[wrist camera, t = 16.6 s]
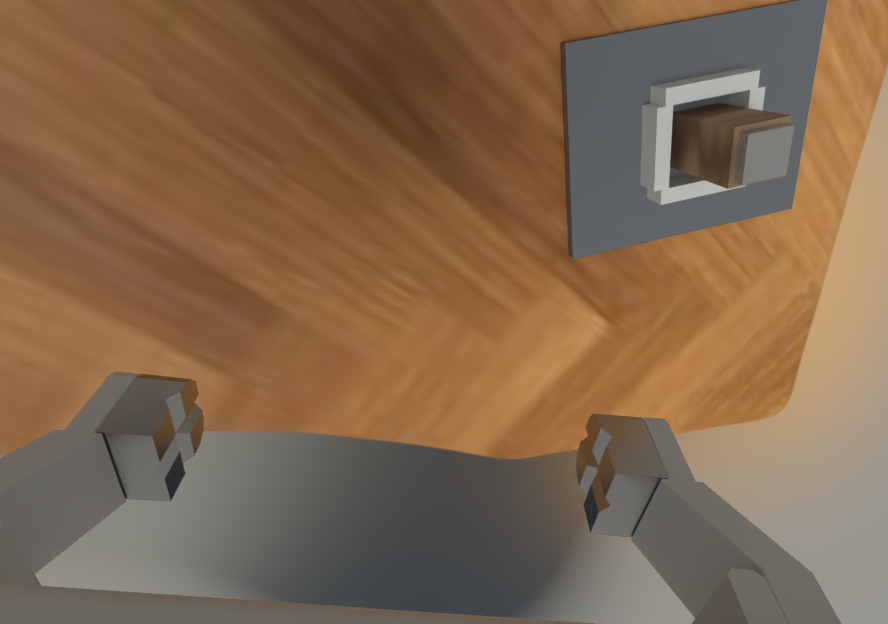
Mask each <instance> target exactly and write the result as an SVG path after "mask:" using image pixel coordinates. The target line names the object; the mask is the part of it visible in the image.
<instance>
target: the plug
mask: <svg viewBox="0 0 888 624" xmlns="http://www.w3.org/2000/svg"><path fill="white" fill-rule="evenodd" d="M790 122H791V115H785V114H779V113H774V112H768V111H762V110H756V109H750V108H745V107H739V106H733V105H727V104H722V103H716V104H711V105H706V106H701V107H695V108H690V109H685V110H680V111H675V112H673V120H672V138H671V157H670V167H671V168H674V169H676V170H679V171H681V172H684V173H687V174H689V175H692V176H695V177H697V178H700V179H703V180H705V181H708V182H710V183H713V184H716V185H718V186H721V187H724V188H726V189H730V188H735V187H739V186H744V185H749V184H753V183H758V182H763V181H767V180H772V179H776V178H781V177H782V176H786V174H787V168H788V162H789V156H790V150H791V144H792V138H793V132H794V126H795V125H792V124H790Z"/></svg>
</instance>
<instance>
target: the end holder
mask: <svg viewBox="0 0 888 624" xmlns="http://www.w3.org/2000/svg"><path fill="white" fill-rule="evenodd" d="M826 4H827V0H794V1H789V2H783V3H778V4H772V5H767V6H761V7H756V8H750V9H745V10H739V11H734V12H729V13H723V14H718V15H712V16H707V17H701V18H696V19H690V20H685V21H679V22H674V23H668V24H663V25H658V26H652V27H647V28H641V29H636V30H630V31H625V32H619V33H614V34H608V35H603V36H597V37H592V38H587V39H581V40H576V41H570V42H565V43H561V65H562V90H563V115H564V140H565V165H566V190H567V215H568V240H569V256H570V257H572V258H573V259H575V258H579V257H583V256H588V255H592V254H596V253H601V252H605V251H609V250H614V249H618V248H622V247H627V246H631V245H635V244H640V243H644V242H648V241H653V240H657V239H661V238H666V237H670V236H674V235H679V234H683V233H687V232H692V231H696V230H700V229H705V228H709V227H714V226H718V225H722V224H727V223H731V222H735V221H740V220H744V219H748V218H753V217H757V216H761V215H766V214H770V213H774V212H779V211H783V210H787V209H792V204H793V198H794V193H795V187H796V181H797V175H798V169H799V163H800V157H801V151H802V145H803V140H804V134H805V128H806V122H807V116H808V110H809V104H810V98H811V93H812V87H813V81H814V75H815V69H816V63H817V57H818V51H819V45H820V40H821V34H822V28H823V22H824V16H825V10H826ZM716 103H722V104H727V105H733V106H739V107H745V108H750V109H756V110H762V111H768V112H774V113H779V114H785V115H791V122H790V124H792V125H795V126H794V132H793V138H792V144H791V150H790V156H789V162H788V168H787V174H786V176H782V177H781V178H776V179H772V180H767V181H763V182H758V183H753V184H749V185H744V186H739V187H735V188H730V189H726V188H724V187H721V186H718V185H716V184H713V183H710V182H708V181H705V180H703V179H700V178H697V177H695V176H692V175H689V174H687V173H684V172H681V171H679V170H676V169H674V168H671V167H670V157H671V138H672V120H673V112H675V111H680V110H685V109H690V108H695V107H701V106H706V105H711V104H716Z"/></svg>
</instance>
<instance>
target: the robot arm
mask: <svg viewBox="0 0 888 624" xmlns="http://www.w3.org/2000/svg"><path fill="white" fill-rule="evenodd" d="M198 395H199V393H198V389H197V385H196V382H195V381H193V380H191V379H184V378H175V377H166V376H157V375H147V374H133V373H124V372H115V373H113V374H111V375H109V376H108V377H107V378H106V380H105V381H104V382H103V383H102V385H101V386H100V387H99V388H98V389H97V391H96V392H95V393H94V394H93V396H92V397H91V398H90V399H89V400H88V402H87V403H86V404H85V405H84V407H83V408H82V409H81V410H80V411H79V413H78V414H77V415H76V416H75V418H74V419H73V420H72V421H71V422H70V424H69V425H68V426H67V427H66V429H65V430H55V431H53V432H51V433H49V434H47V435H45V436H43V437H41V438H39V439H37V440H35V441H33V442H31V443H29V444H27V445H25V446H23V447H21V448H19V449H17V450H15V451H13V452H11V453H9V454H8V455H6V456H4V457H2V458H0V624H593V623H578V622H562V621H548V620H547V621H546V620H533V619H518V618H503V617H488V616H474V615H459V614H444V613H429V612H413V611H400V610H384V609H370V608H356V607H354V608H353V607H341V606H327V605H311V604H297V603H283V602H267V601H254V600H239V599H224V598H210V597H195V596H181V595H166V594H165V595H164V594H151V593H137V592H121V591H107V590H93V589H78V588H63V587H49V586H41V585H40V583H39V581H38V580H37V578H36V576H35V573H37V572H38V571H39V570H40V569H42V568H43V567H44V566H45V565H47V564H48V563H49V562H50V561H52V560H53V559H54V558H55V557H57V556H58V555H59V554H60V553H62V552H63V551H64V550H65V549H67V548H68V547H69V546H70V545H72V544H73V543H74V542H76V541H77V540H78V539H79V538H81V537H82V536H83V535H84V534H86V533H87V532H88V531H89V530H91V529H92V528H93V527H94V526H96V525H97V524H98V523H99V522H101V521H102V520H103V519H105V518H106V517H107V516H108V515H110V514H111V513H112V512H113V511H115V510H116V509H117V508H118V507H119V506H121V505H122V504H123V503H125V502H126V500H125V499H134V500H155V501H171V500H172V498H173V496H174V494H175V492H176V490H177V488H178V487H179V484H180V483H181V481H182V479H183V477H184V475H185V470H184V466H183V463H184V462H185V461H187V460H188V459H190V458H191V457H193V456H195V453H196V451H197V449H198V447H199V445H200V442H201V438H202V434H203V430H204V418H203V412H202V410H201V409H200V408H199V407H198V406H197V405H196V404H195V403H194V402H195V400H196V398H197V396H198ZM586 430H587V433H588V437H587V438H585V439H584V440H582V441H581V442H580V445H579V448H578V452H577V460H576V473H577V479H578V484H579V487H580V488H581V489H582V490H583V491H584V492H585V493H586V494H587V497H586V499H585V502H584V504H583V505H584V509H585V513H586V517H587V522H588V526H589V530H590V533H593V534H603V535H613V536H622V537H632V539H631V540H632V541H633V542H634V544H635V545H636V546H637V547H638V549H639V550H640V551H641V552H642V553H643V555H644V556H645V557H646V558H647V560H648V561H649V562H650V563H651V564H652V566H653V567H654V568H655V569H656V571H657V572H658V573H659V574H660V576H661V577H662V578H663V579H664V580H665V582H666V583H667V584H668V585H669V587H670V588H671V589H672V590H673V592H674V593H675V594H676V595H677V596H678V598H679V599H680V600H681V601H682V603H683V604H684V605H685V606H686V607H687V609H688V610H689V611H690V612H691V614H692V615H693V616H694V617H695V620H694V622H693V623H692V624H841V622H840V620H839V618H838V617H837V616H836V613H835V612H834V610H833V608H832V606H831V605H830V603H829V601H828V599H827V598H826V596H825V594H824V592H823V591H822V589H821V587H820V585H819V584H818V582H817V581H816V579H815V577H814V575H813V573H812V572H810V571H809V570H808V569H807V568H806V567H804V566H803V565H802V564H801V563H800V562H799V561H797V560H796V559H795V558H794V557H792V556H791V555H790V554H788V552H786V551H785V550H784V549H783V548H782V547H780V546H779V545H778V544H777V543H775V542H774V541H773V540H772V539H771V538H769V537H768V536H767V535H766V534H765V533H763V532H762V531H761V530H760V529H759V528H757V527H756V526H755V525H754V524H752V523H751V522H750V521H749V520H748V519H746V518H745V517H744V516H743V515H741V514H740V513H739V512H738V511H737V510H736V509H734V508H733V507H732V506H731V505H730V504H728V503H727V502H726V501H725V500H724V499H722V498H721V497H720V496H719V495H718V494H716V493H715V492H714V491H712V490H711V489H710V488H709V487H708V486H707V485H705V484H704V483H703V482H696V481H695V479H694V477H693V475H692V473H691V471H690V468H689V466H688V464H687V462H686V460H685V458H684V456H683V454H682V451H681V449H680V447H679V445H678V443H677V441H676V438H675V436H674V434H673V432H672V430H671V428H670V426H669V423H668V422H667V421H666V420H665V419H658V418H644V417H640V418H638V417H629V416H616V415H603V414H592V415H591V416H590V418H589V420H588V422H587V425H586Z"/></svg>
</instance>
